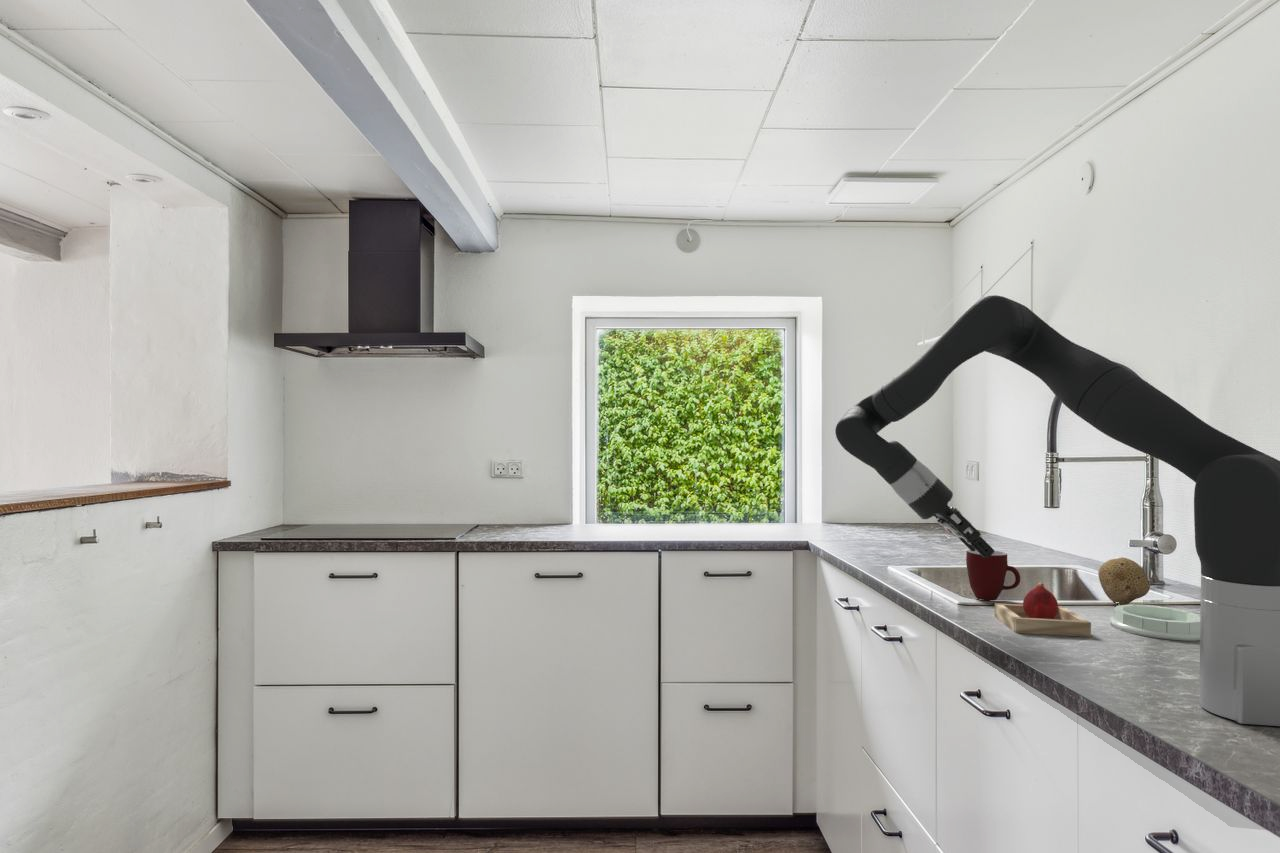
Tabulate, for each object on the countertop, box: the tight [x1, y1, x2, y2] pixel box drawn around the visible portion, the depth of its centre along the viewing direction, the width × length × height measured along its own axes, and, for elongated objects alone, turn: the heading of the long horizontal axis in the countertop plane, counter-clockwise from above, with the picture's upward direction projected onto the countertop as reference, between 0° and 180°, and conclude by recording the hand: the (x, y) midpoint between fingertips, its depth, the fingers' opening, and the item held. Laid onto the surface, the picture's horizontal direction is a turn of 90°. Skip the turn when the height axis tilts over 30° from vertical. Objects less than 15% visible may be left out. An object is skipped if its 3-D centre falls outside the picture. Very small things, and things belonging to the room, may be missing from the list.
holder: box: [994, 602, 1092, 638], centre depth 140 cm, size 12×12×2 cm
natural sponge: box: [1097, 557, 1151, 605], centre depth 158 cm, size 9×9×10 cm
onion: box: [1022, 582, 1059, 619], centre depth 140 cm, size 6×6×8 cm
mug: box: [965, 549, 1021, 602], centre depth 162 cm, size 11×8×10 cm
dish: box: [1109, 603, 1200, 642], centre depth 139 cm, size 15×15×3 cm
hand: (983, 551), depth 142 cm, fingers open, 8 cm apart
